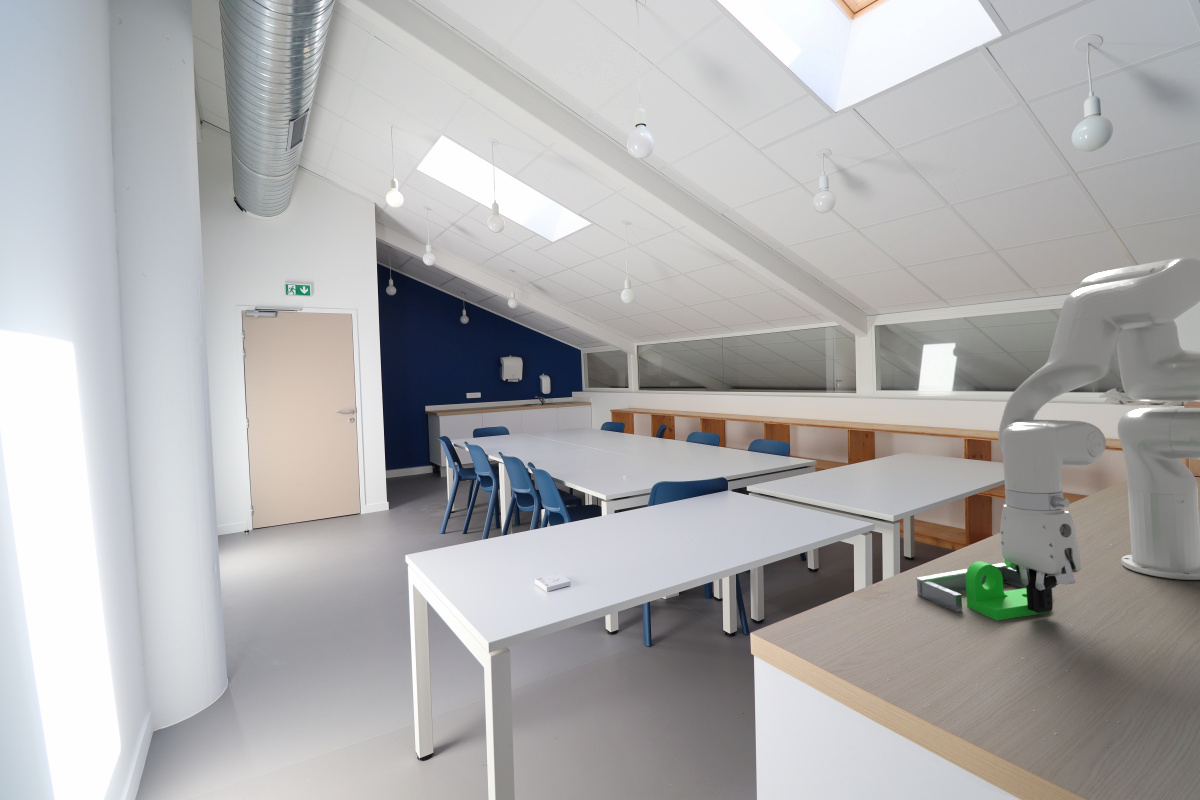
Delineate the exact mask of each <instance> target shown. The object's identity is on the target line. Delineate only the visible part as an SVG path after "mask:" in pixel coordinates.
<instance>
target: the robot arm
mask: <svg viewBox="0 0 1200 800" xmlns="http://www.w3.org/2000/svg"><path fill="white" fill-rule="evenodd" d="M1199 303H1200V259H1197V258H1194V257H1190V256H1188V257H1177V258H1171V259H1164V260H1159V261H1154V262H1148V263H1143V264H1137V265H1130V266H1125V267H1121V268H1114V269H1110V270H1105V271H1101V272H1097V273H1094V274H1092V275H1089V276H1087V277H1086V278H1084V279H1083V280H1082V281H1080V283H1079V285H1078V289H1077V290H1074V291H1073V292H1071V293H1070V294H1069V295H1068V296H1067V297H1066V298H1065V300H1064V302H1063V304H1062V307H1061V311H1060V314H1059V318H1058V323H1057V325H1056V330H1055V333H1054V337H1053V340H1052V344H1051V348H1050V352H1049V355H1048V359H1047V361H1046V362H1045V364H1044V365H1043V366H1041V367H1040V368H1039V369H1038V370H1036V371H1035V372H1033V373H1032V374H1031V375H1030V376H1028V378H1027V379H1025V380H1024V381H1023V382H1022V383H1021V384H1020V385H1019V386H1018V387H1017V388H1016V389H1015V390H1014V391H1013V392H1012V394H1011V395H1010V397H1009V398H1008V400H1007V402H1006V404H1005V407H1004V410H1003V414H1002V416H1001V417H1002V418H1001V421H1000V424H999V429H998V436H997V437H998V438H997V441H998V447H999V449H1000V451H1001V453H1002V459H1003V460H1002V464H1003V479H1004V494H1005V504H1003V507H1002V512H1001V518H1000V528H999V529H1000V530H999V531H1000V533H999V535H1000V536H999V541H1000V543H999V545H1000V553H1001V556H1002V558H1003V559H1004V563H1005V564H1006V565H1007V566H1008V567H1010V568H1012V569H1013V570H1016V572H1017V573H1018V574H1019V575H1020V577H1021V580H1022V583H1023V584H1024V585H1026V590H1027V604H1028V609H1029V610H1031V611H1034V612H1036V613H1041V614H1045V613H1044V612H1046V613H1049V612H1051V611H1053V605H1054V603H1053V602H1054V601H1053V589H1056V588H1057V586H1058V585H1065V586H1068V585H1072V584H1075V583H1076V578H1075V575H1074V573H1079V572H1080V570H1081V555H1080V554H1081V553H1080V549H1079V540H1078V536H1077V532H1076V527H1075V524H1074V520H1073V518H1072V515H1071V513H1070V511H1068V510H1065V508H1068V507H1070V503H1071V502H1070V499H1068V498H1064V488H1063V471H1062V469H1063V468H1062V467H1084V466H1088V465H1091V464H1094V463H1095V462H1097V461H1098V460H1099V459H1100V458H1102V456H1103V455H1104V453H1105V451H1106V447H1107V443H1106V442H1107V441H1106V436H1105V435H1104V433H1103V432H1102V430H1101V429H1100V428H1099V427H1098V426H1096V425H1094V424H1092V423H1090V422H1087V421H1083V420H1082V421H1080V420H1062V419H1061V420H1058V419H1057V420H1056V419H1035V417H1036V415H1037V414H1038V412H1039V411H1040V410H1041V409H1042V408H1043V407H1044V406H1045V405H1046V404H1047V403H1049V402H1050V401H1052V400H1053V399H1055V398H1057V397H1059V396H1062V395H1064V394H1066V393H1068V392H1071V391H1074V390H1076V389H1079V388H1082V387H1084V386H1087V385H1089V384H1092V383H1095V382H1096V381H1099V380H1101V379H1102V378H1104V377H1106V376H1107V375H1109V373H1110V372H1111V368H1112V366H1113V360H1114V356H1115V352H1117V353H1116V354H1117V359H1118V368H1119V373H1120V380H1121V381H1120V382H1121V385H1122V389H1123V391H1124V394H1125V395H1126V396H1127V397H1128V398H1129V399H1131V400H1134V401H1139V402H1150V403H1151V402H1153V403H1154V402H1155V403H1156V402H1157V403H1160V402H1162V403H1164V402H1165V403H1166V402H1168V403H1170V402H1171V403H1172V402H1173V403H1174V402H1175V403H1177V402H1180V403H1181V402H1183V403H1184V402H1192V403H1193V402H1197V403H1200V348H1198V349H1197V348H1196V349H1183V348H1182V347H1181V345H1180V340H1179V334H1178V327H1177V326H1178V325H1177V323H1176V321H1175V320H1176V319H1177V318H1179V317H1180V316H1182V315H1183V314H1184V313H1186V312H1187V311H1189V310H1190V309H1192V308H1193V307H1194V306H1196V305H1197V304H1199ZM1117 434H1118V440H1119V442H1120V445H1121V446H1120V447H1121V449H1122V453H1123V455H1124V456H1123V457H1124V462H1125V469H1126V482H1127V496H1128V497H1127V500H1128V515H1129V517H1128V518H1129V529H1130V530H1129V533H1130V547H1131V548H1130V550H1131V551H1130V552H1131V553H1130V554H1126V555H1124V556H1122V557H1121V558H1120V561H1121V562H1120V563H1121V565H1122V566H1123V567H1125V568H1126V569H1128V570H1131V571H1134V572H1136V573H1138V574H1139V573H1140V574H1144V575H1148V576H1153V577H1158V578H1164V579H1172V580H1173V579H1174V580H1186V581H1187V580H1188V581H1200V510H1199V489H1198V482H1197V479H1196V477H1195V475H1194V473H1192V471H1191V470H1190V469H1189V468H1188V466H1187V465H1186V464H1185V463H1183V461H1182V460H1180V459H1188V460H1189V459H1190V460H1191V459H1192V460H1200V407H1179V406H1178V407H1143V408H1137V409H1133V410H1131V411H1128V412H1126V413H1125V414H1123V415H1122V416H1121V417H1120V418H1119V420H1118V423H1117Z"/></svg>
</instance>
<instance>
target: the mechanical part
mask: <svg viewBox="0 0 1200 800" xmlns="http://www.w3.org/2000/svg"><path fill="white" fill-rule="evenodd" d="M967 569H968V570H967V572H966V592H965V593H966V607H967V608H969V609H971V610H974V611H975V612H978V613H979V614H982V615H984V616H985V617H988V618H991V619H993V620H995V621H1001V620H1002V621H1003V620H1008V619H1014V618H1021V617H1026V616H1033V615H1040V614H1042V613H1036V612H1034V611H1031V610H1029V609H1028V604H1027V590H1026V588H1023V589H1022V588H1017V589H1011V590H1010V589H1009V590H1004V583H1003V577H1002V573H1001V571H1000V570H999V569H998V568H997V567H996V566H994V565H993V564H990V563H989V562H985V561H982V560H981V561H980V560H979V561H975V562H973V563H971V564H970V565H969V567H968V568H967ZM985 575H986V581H985V583H984V584H983V585H982V579H983V577H984V576H985ZM1043 614H1047V612H1044V613H1043Z"/></svg>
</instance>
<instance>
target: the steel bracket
mask: <svg viewBox="0 0 1200 800" xmlns="http://www.w3.org/2000/svg"><path fill="white" fill-rule="evenodd" d="M992 565H994V566H996V567H997V568H998V569H999V570H1000V571H1001V573H1002V577H1003V584H1004V583H1005V584H1009V585H1011V586H1013V587H1017V588H1018V589H1023V588H1026V585H1024V584H1023V583H1022V580H1021V577H1020V575H1019V574H1018V573H1017V572H1016V570H1013V569H1012V568H1010V567H1008V566H1007V565H1006V564H1005V562H1000V563H994V564H992ZM967 570H968V568H964V569H959V570H952V571H948V572H941V573H936V574H931V575H930V574H929V575H925V576H919V577H916V587H917V588H916V589H917V596H919V597H921V598H923V599H926V600H928V601H930V602H932V603H935V604H937V605H939V606H941V607H943V608H946V609H948V610H950V611H952V612H955V613H961V612H963V601H962V600H963V599H962V594H961V593H959V591H965V590H966V572H967ZM985 581H986V575H985V576H984V577H983V579H982V585H983V584H984V583H985Z"/></svg>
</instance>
